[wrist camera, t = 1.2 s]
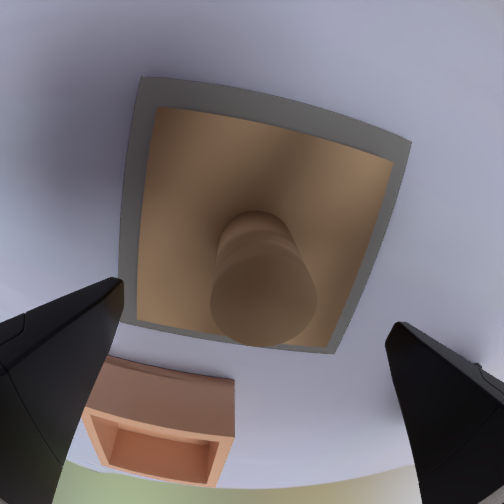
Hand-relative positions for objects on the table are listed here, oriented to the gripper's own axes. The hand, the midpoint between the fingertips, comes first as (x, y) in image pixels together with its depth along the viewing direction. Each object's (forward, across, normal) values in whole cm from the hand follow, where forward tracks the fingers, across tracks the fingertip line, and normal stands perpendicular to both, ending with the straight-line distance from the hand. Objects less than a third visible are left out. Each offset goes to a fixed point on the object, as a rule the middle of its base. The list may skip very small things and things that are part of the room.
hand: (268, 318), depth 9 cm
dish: (+7, +4, +16) cm, 18 cm away
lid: (+7, 0, 0) cm, 7 cm away
